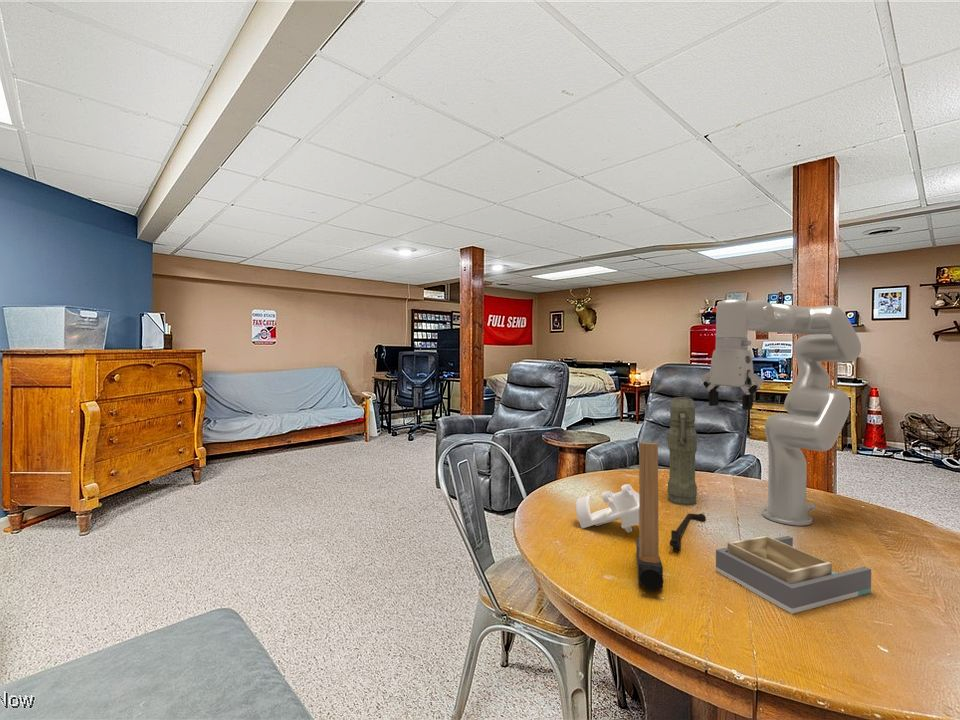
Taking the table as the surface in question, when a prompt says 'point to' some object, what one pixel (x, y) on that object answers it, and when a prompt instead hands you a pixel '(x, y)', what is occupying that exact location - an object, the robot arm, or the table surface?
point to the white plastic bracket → (611, 509)
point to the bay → (798, 593)
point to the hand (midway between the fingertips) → (729, 407)
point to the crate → (780, 559)
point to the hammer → (648, 519)
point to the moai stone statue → (682, 452)
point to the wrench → (677, 534)
